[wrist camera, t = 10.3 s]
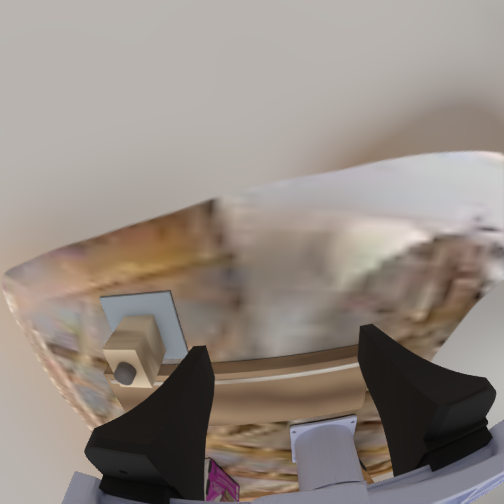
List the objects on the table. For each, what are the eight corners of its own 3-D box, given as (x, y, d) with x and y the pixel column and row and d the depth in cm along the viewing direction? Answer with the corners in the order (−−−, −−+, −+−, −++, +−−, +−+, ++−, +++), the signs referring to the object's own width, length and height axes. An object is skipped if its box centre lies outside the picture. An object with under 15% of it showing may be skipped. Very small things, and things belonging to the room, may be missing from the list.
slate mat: (190, 356, 26) (189, 358, 26) (125, 357, 26) (124, 359, 26) (170, 290, 23) (169, 292, 23) (100, 296, 24) (99, 298, 24)
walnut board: (359, 397, 28) (362, 408, 26) (135, 412, 29) (131, 422, 28) (366, 343, 25) (371, 353, 24) (109, 364, 27) (103, 374, 25)
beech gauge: (166, 350, 25) (149, 396, 20) (138, 351, 25) (116, 394, 20) (153, 314, 24) (130, 358, 18) (124, 316, 24) (96, 357, 18)
